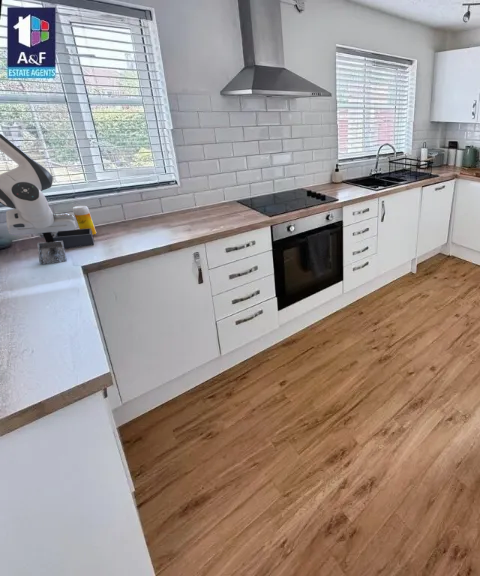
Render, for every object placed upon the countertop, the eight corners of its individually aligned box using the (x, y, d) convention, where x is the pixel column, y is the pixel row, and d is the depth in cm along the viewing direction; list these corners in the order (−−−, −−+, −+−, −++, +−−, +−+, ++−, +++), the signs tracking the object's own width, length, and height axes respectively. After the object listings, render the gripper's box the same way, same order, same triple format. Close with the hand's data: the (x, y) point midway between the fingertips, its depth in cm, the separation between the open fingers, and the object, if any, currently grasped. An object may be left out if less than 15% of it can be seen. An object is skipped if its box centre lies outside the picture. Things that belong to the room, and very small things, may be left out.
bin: (57, 252, 162) (53, 237, 159) (59, 244, 171) (55, 231, 169) (94, 248, 169) (91, 234, 167) (94, 241, 179) (90, 228, 176)
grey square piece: (66, 261, 151) (60, 244, 145) (40, 264, 146) (33, 247, 140) (63, 241, 157) (57, 224, 151) (38, 243, 152) (31, 226, 146)
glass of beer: (80, 236, 186) (70, 207, 179) (94, 233, 190) (84, 204, 183) (85, 239, 183) (74, 209, 176) (99, 235, 187) (89, 206, 180)
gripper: (71, 207, 146) (78, 226, 157) (0, 211, 135) (12, 231, 146) (74, 220, 145) (81, 238, 156) (2, 226, 133) (15, 245, 144)
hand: (47, 235), depth 151 cm, fingers closed on grey square piece, 2 cm apart
